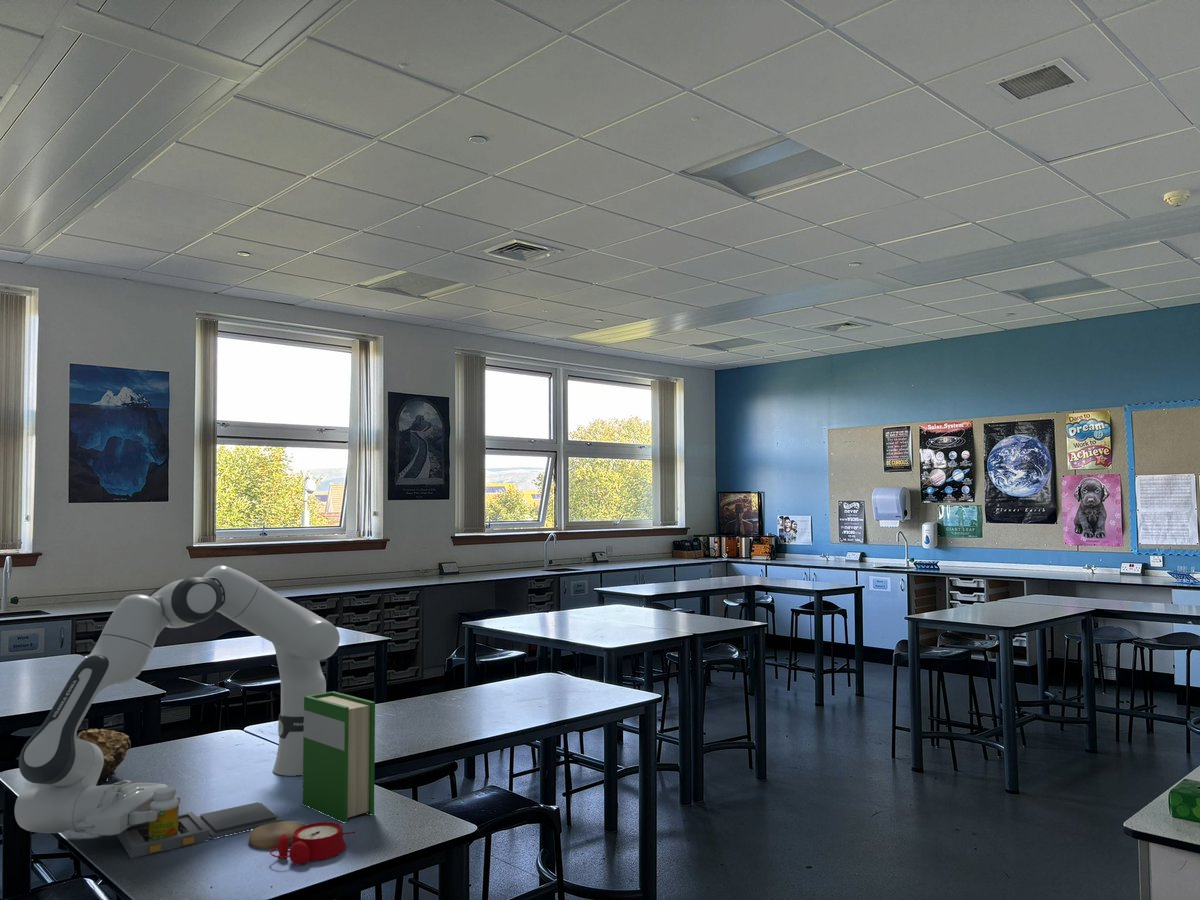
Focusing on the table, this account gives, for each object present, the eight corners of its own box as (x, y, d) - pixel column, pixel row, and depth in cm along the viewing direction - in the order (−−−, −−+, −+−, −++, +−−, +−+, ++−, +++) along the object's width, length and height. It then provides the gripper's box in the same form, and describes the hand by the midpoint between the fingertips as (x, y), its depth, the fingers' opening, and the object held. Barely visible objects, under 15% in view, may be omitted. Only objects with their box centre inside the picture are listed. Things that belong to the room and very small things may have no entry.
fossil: (40, 765, 217) (73, 708, 222) (97, 780, 225) (128, 725, 230) (57, 793, 199) (93, 730, 204) (118, 809, 207) (151, 748, 212)
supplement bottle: (148, 845, 170) (149, 795, 171) (148, 837, 175) (149, 788, 176) (178, 840, 173) (179, 791, 174) (177, 832, 178) (178, 784, 178)
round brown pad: (295, 824, 181) (295, 817, 181) (314, 839, 173) (315, 832, 173) (241, 837, 174) (241, 829, 175) (258, 853, 166) (258, 845, 166)
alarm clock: (361, 829, 169) (293, 833, 158) (355, 864, 167) (285, 870, 156) (332, 817, 175) (264, 820, 165) (325, 850, 174) (257, 855, 163)
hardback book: (374, 814, 187) (375, 702, 189) (343, 823, 182) (344, 707, 184) (332, 796, 199) (333, 691, 201) (302, 804, 194) (304, 696, 196)
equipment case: (261, 806, 193) (261, 797, 193) (283, 824, 182) (283, 814, 182) (117, 837, 175) (118, 827, 175) (132, 859, 164) (132, 848, 164)
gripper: (69, 810, 164) (141, 810, 164) (128, 777, 185) (192, 777, 185) (68, 844, 164) (140, 844, 164) (127, 807, 184) (191, 807, 184)
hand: (168, 808), depth 174 cm, fingers open, 7 cm apart
